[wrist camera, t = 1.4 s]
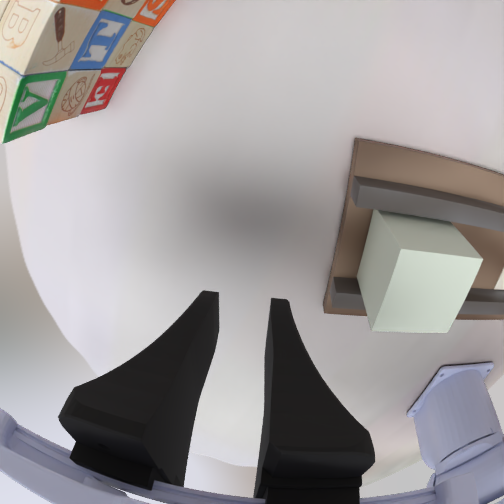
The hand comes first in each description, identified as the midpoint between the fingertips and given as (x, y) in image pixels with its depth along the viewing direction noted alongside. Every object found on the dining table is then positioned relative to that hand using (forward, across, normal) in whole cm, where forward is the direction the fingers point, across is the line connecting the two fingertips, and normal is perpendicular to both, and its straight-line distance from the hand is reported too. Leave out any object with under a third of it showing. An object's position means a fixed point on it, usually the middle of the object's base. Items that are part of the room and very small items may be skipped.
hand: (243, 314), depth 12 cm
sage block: (+7, -9, 0) cm, 12 cm away
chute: (+8, -16, 0) cm, 18 cm away
